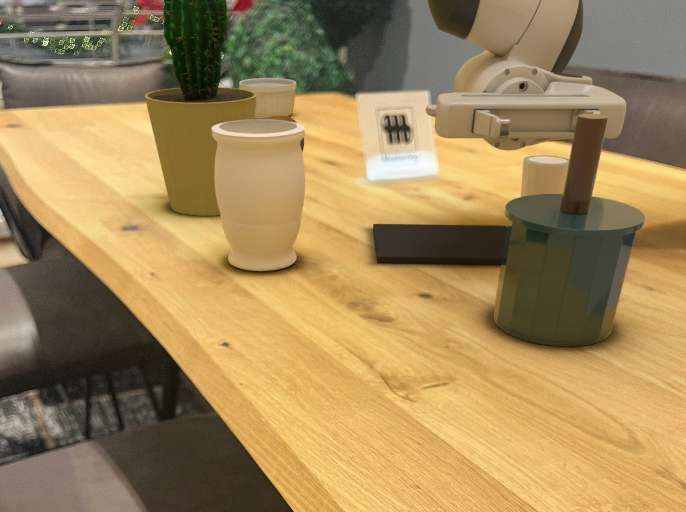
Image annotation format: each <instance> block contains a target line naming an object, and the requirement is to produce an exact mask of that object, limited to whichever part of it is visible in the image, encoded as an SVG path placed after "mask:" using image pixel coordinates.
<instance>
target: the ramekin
mask: <svg viewBox="0 0 686 512" xmlns="http://www.w3.org/2000/svg"><path fill="white" fill-rule="evenodd" d="M238 89H244V90H249V91H253V92H255V93H257V96H256V110H255V118H258V117H269V116H287V117H290V116H291V115H292V114H293V112H294V109H295V101H296V99H295V98H296V90H297V81H295V80H293V79H288V78H280V77H257V78H246V79H242V80H240V81H239V82H238Z"/></svg>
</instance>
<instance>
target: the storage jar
mask: <svg viewBox="0 0 686 512" xmlns="http://www.w3.org/2000/svg"><path fill="white" fill-rule="evenodd" d="M506 227H507V228H506V235H505V241H504V248H503V254H502V261H501V265H500V269H499V275H498V280H497V288H496V294H495V300H494V308H493V321H494V323H495V325H496V327H498V328H499V329H500V330H501V331H502V332H504V333H505V334H508V335H510V336H512V337H514V338H517V339H518V340H522V341H526V342H529V343H532V344H533V343H534V344H538V345H544V346H550V347H563V348H565V347H572V348H573V347H584V346H589V345H594V344H597V343H598V344H599V343H601V342H602V341H604V340H606V339H607V338H608V337H609V336H610V335H611V333H612V329H613V326H614V323H615V318H616V314H617V311H618V306H619V303H620V299H621V295H622V291H623V287H624V283H625V278H626V274H627V272H628V271H627V270H628V267H629V263H630V260H631V255H632V251H633V247H634V243H635V239H636V234H637V231H636V232H633V233H630V234H625V235H619V236H611V237H577V236H565V235H558V234H551V233H546V232H541V231H536V230H533V229H529V228H526V227H523V226H520V225H518V224H516V223H514V222H512V221H510V220H509V219H508V218H507V223H506Z"/></svg>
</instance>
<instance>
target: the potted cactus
mask: <svg viewBox="0 0 686 512" xmlns="http://www.w3.org/2000/svg"><path fill="white" fill-rule="evenodd" d="M159 1H161V2H163V4H164V5H157V6H156V7H157V8H161V9H159V11H160V12H161V14H162V17H163V20H161V19H158V18H157V20H158V21H160V22H162V24H161V25H162V26H161V27H162V28H161V29H162V30H163V31H162V33H163V35H161V38H160V40H162V39H163V40H162V41H161V43H162V44H163V47H164V48H166V47H167V46H168V48H169V51H170V53H171V54H170V57H171V59H168V60H166V61H171V62H172V65H169V68H170V67H173V69H172V72H173V74H171V77H174V76H175V77H174V78H173V80H175V79H177V80H176V81H177V83H178V84H177V87H175V88H173V87H172V88H166V89H165V88H163V89H158V90H153V91H149V92H147V93H145V94H144V98H145V101H146V107H147V108H146V109H147V113H148V117H149V121H150V125H151V129H152V134H153V137H154V142H155V146H156V150H157V154H158V160H159V165H160V167H161V172H162V176H163V181H164V183H165V184H164V185H165V189H166V193H167V197H168V202H169V205H170V207H171V209H172V210H173V211H174V212H175V213H176V212H177V213H179V214H183V215H190V216H201V217H202V216H205V217H206V216H207V217H208V216H221V214H220V211H219V207H218V203H217V198H216V191H215V178H214V171H215V156H216V150H217V146H218V144H217V141H216V140H215V139H214V138H213V136H212V127H213V126H215V125H217V124H220V123H224V122H230V121H236V120H247V119H255V110H256V96H257V93H255V92H253V91H249V90H244V89H239V88H237V87H226V86H224V85H225V84H224V83H223V80H222V79H221V76H222V65H225V62H224V61H223V60H224V59H223V57H222V56H224V53H222V46H223V47H224V48H223V51H226V50H225V49H227V50H229V51H230V49H229V48H228V47H226V45H227V44H228V43H227V42H226V41H227V39H228V38H229V36H228V35H229V34H230V33H232V34H234V31H230V30H229V31H228V22H230V19H228V17H229V16H232V15H233V13H228V5H227V1H228V0H159ZM164 40H165V41H164ZM165 42H166V43H165ZM224 42H225V43H224ZM162 50H163V48H161V49H160V51H162ZM225 61H228V60H226V59H225ZM221 63H222V64H221ZM223 70H225V71H226V69H225V68H223Z"/></svg>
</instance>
